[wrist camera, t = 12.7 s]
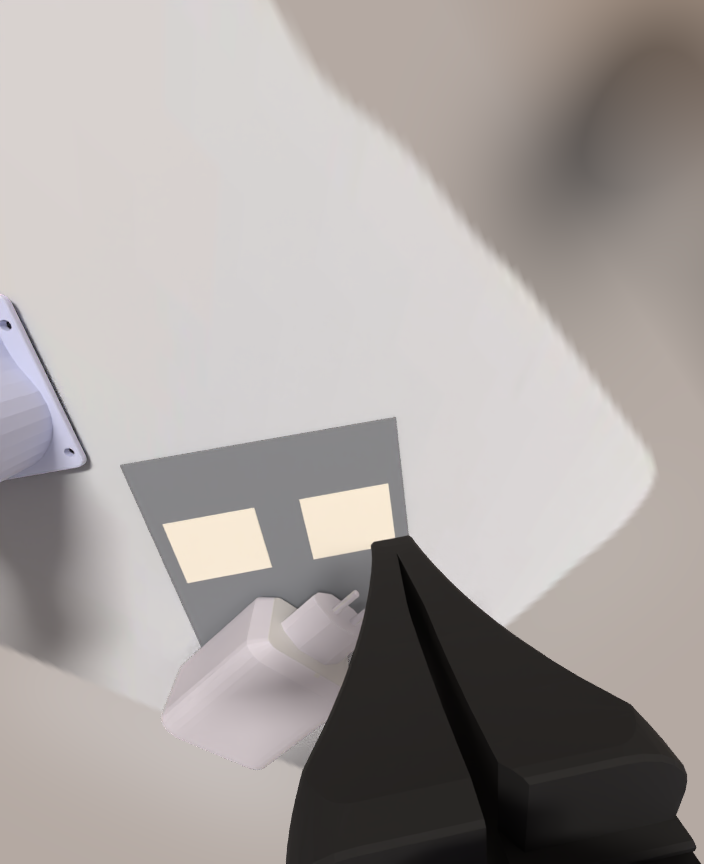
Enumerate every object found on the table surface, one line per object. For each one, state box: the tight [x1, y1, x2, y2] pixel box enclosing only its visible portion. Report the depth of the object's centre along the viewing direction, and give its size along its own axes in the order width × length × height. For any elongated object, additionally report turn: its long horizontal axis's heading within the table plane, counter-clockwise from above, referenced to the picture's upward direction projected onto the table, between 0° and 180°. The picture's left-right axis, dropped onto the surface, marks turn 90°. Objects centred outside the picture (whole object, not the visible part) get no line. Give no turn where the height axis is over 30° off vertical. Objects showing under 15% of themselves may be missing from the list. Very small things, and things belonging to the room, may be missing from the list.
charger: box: [161, 590, 365, 770], centre depth 24 cm, size 5×9×15 cm
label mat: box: [120, 417, 409, 647], centre depth 23 cm, size 18×17×1 cm
